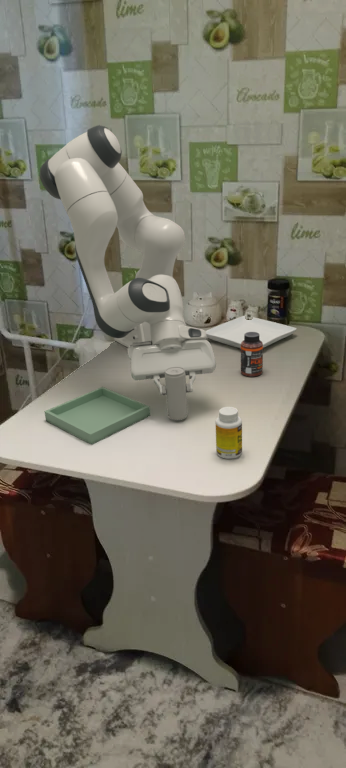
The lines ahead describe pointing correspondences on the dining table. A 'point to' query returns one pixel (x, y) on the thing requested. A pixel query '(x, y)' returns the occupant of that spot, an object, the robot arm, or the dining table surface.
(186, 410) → the beverage can
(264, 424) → the dining table surface
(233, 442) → the supplement bottle
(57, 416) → the green tray
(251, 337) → the supplement bottle
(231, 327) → the salad plate
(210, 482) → the dining table surface
